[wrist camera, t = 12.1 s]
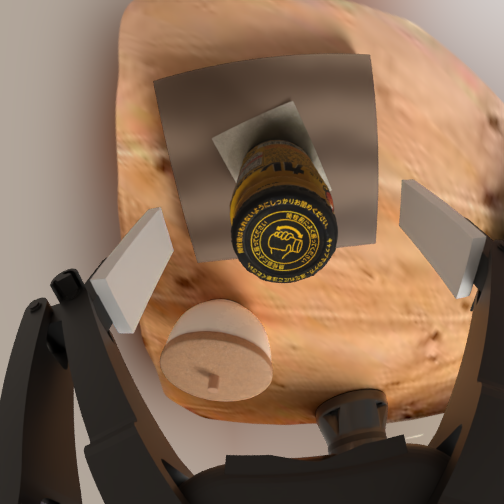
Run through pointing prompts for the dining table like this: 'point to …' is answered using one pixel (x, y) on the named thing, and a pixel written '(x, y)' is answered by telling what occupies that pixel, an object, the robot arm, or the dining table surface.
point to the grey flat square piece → (256, 103)
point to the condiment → (278, 197)
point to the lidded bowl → (218, 352)
